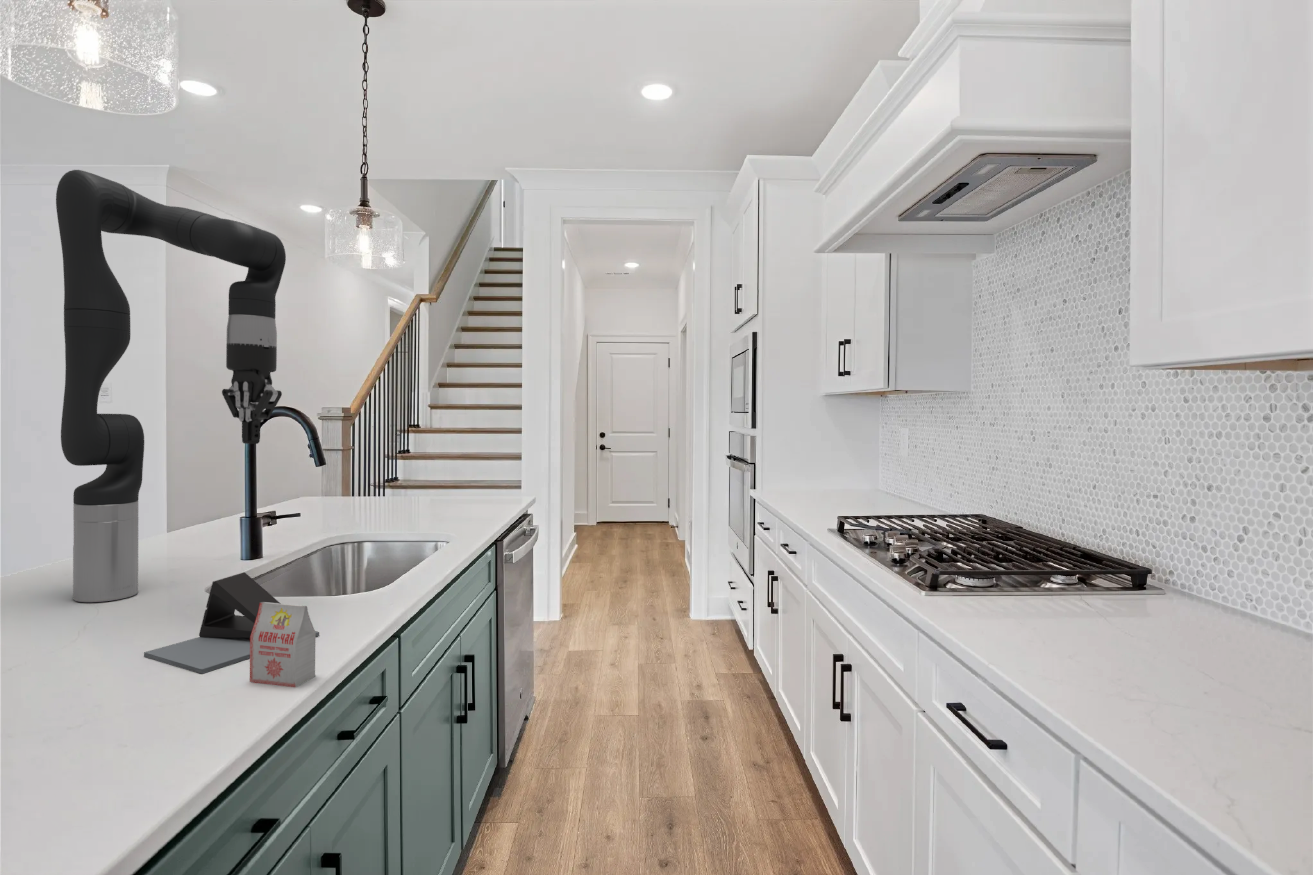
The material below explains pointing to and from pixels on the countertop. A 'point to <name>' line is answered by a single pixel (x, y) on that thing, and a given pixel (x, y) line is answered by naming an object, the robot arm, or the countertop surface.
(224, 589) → the phone stand
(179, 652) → the mat
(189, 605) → the countertop surface
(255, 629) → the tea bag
